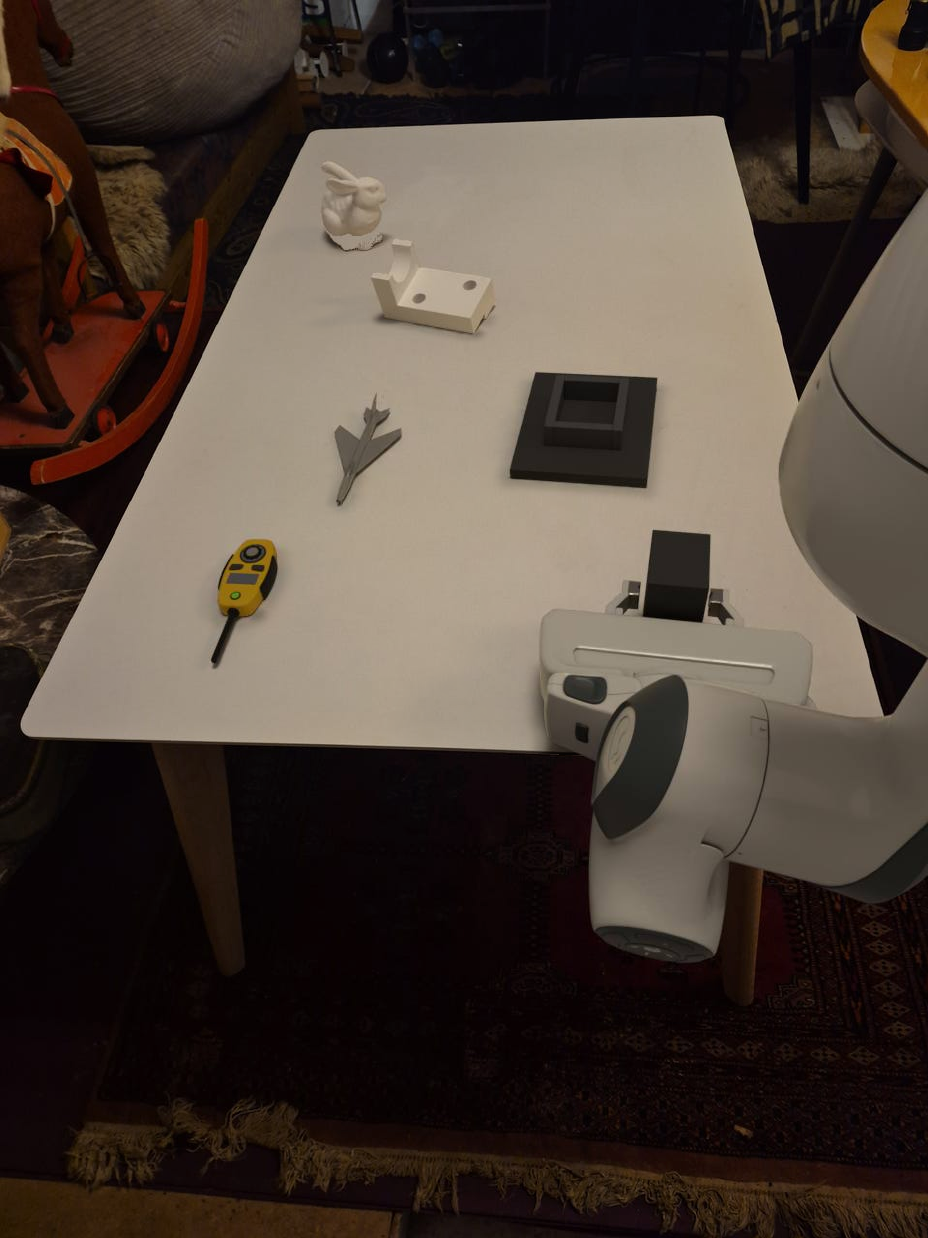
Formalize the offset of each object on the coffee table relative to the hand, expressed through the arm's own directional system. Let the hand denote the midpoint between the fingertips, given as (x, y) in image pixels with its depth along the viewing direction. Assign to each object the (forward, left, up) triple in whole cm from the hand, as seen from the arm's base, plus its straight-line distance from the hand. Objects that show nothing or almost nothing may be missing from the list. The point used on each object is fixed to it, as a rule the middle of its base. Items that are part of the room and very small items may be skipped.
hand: (674, 589), depth 70 cm
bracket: (+32, -51, -6) cm, 61 cm away
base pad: (+10, -28, -6) cm, 30 cm away
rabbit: (+49, -71, -6) cm, 86 cm away
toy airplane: (+34, -23, -6) cm, 42 cm away
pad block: (0, +1, -6) cm, 6 cm away
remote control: (+39, +2, -6) cm, 39 cm away
